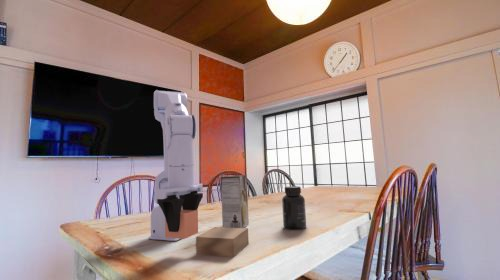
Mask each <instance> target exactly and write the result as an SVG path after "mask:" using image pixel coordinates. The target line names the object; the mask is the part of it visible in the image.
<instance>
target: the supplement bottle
mask: <svg viewBox="0 0 500 280" xmlns="http://www.w3.org/2000/svg"><path fill="white" fill-rule="evenodd" d="M301 188H302V187H301V186H297V185H296V186H293V185H291V186H285V187H284V193H285V195H284V196H283V197H282V199H281V202H282V203H281V205H282V222H283V225H282V226H283V227H284V229H286V230H290V231H291V230H292V231H298V230H299V231H301V230H303V229H306V227H307V214H306V199H305V197H304V196H303V195H302V189H301Z"/></svg>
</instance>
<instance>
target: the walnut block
mask: <svg viewBox="0 0 500 280" xmlns="http://www.w3.org/2000/svg"><path fill="white" fill-rule="evenodd" d="M195 239H196V240H195V242H196V243H195V244H196V246H195V247H196V248H195V249H196V250H195V251H196V255H204V256H206V255H207V256H214V257H215V256H216V257H225V258H226V257H229V258H234V257H236V256H237V255H238V254H240V252H241V251H243V250H244V249H246V247H247V246H249V241H250V240H249V228H247V227H245V228H225V227H223V226H222V227H220V226H215V227H213V228H210V229H208V230H207V231H205V232H202V233H201V234H199V235H197V236H196V237H195Z"/></svg>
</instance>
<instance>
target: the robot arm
mask: <svg viewBox="0 0 500 280" xmlns="http://www.w3.org/2000/svg"><path fill="white" fill-rule="evenodd" d="M187 107H188V95H187V93H186V92H185V91H183V92H182V91H181V92H180V91H169V90H167V91H166V90H158V89H156V90H155V91H154V92H153V109H154V110H153V113H154V114H153V115H154V118H155V120H157V121H158V122H160V125H161V128H162V136H163V137H162V139H163V163H164V165H163V167H164V168H163V171H162V172H160V173H158V175H156V177H155V179H154V203H155V204H156V205H155V206H154V207H153V208H152V210H151V211H150V236H148V239H149V240H156V241H157V240H159V241H171V242H177V241H178V240H179V241H180V239H179V238H167V237H165V219H166V222H167V226H168V230H169V232H178V231H179V226H180V213H181V210H198V209H199V206H200V203H201V201H202V199H203V198H204V194H203V193H202V192H203V186H204V185H203V183H195V164H194V163H195V162H194V161H195V160H194V159H195V157H194V152H195V151H194V139H196V132H197V122H196V121H197V120H196V116H195V114H190V115H189V111H188V110H187V109H188V108H187Z"/></svg>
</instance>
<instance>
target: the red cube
mask: <svg viewBox="0 0 500 280" xmlns="http://www.w3.org/2000/svg"><path fill="white" fill-rule="evenodd" d="M197 234H199V210H198V209H197V210H181V213H180V226H179V231H178V232H169V230H168V226H167V222H166V219H165V237H167V238H179V240H186V239H188V238H191V237H192V236H194V235H197Z"/></svg>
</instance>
